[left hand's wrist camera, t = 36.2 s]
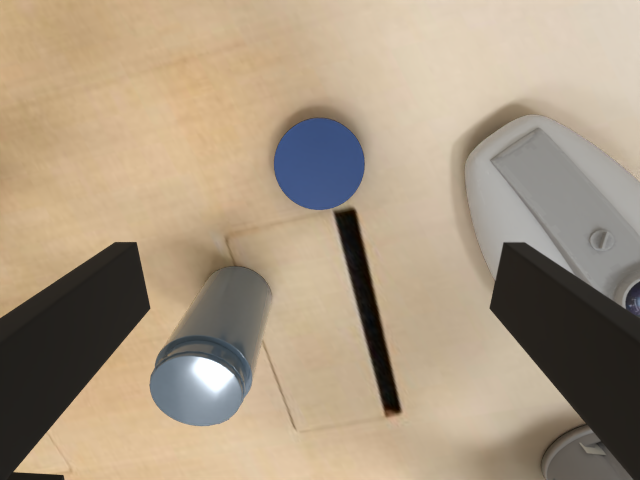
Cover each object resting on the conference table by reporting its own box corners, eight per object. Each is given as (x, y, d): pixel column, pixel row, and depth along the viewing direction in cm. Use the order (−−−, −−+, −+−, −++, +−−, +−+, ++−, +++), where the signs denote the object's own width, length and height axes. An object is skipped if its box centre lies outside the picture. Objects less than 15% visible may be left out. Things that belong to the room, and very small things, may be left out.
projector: (684, 129, 35) (916, 143, 21) (599, 317, 43) (727, 414, 30) (472, 109, 34) (572, 111, 21) (427, 305, 43) (477, 398, 29)
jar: (189, 285, 42) (121, 377, 28) (246, 254, 40) (207, 334, 26) (229, 335, 45) (186, 443, 30) (284, 308, 43) (267, 407, 29)
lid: (350, 211, 38) (352, 217, 36) (270, 195, 38) (267, 200, 36) (371, 128, 35) (374, 129, 33) (284, 109, 35) (281, 109, 32)
